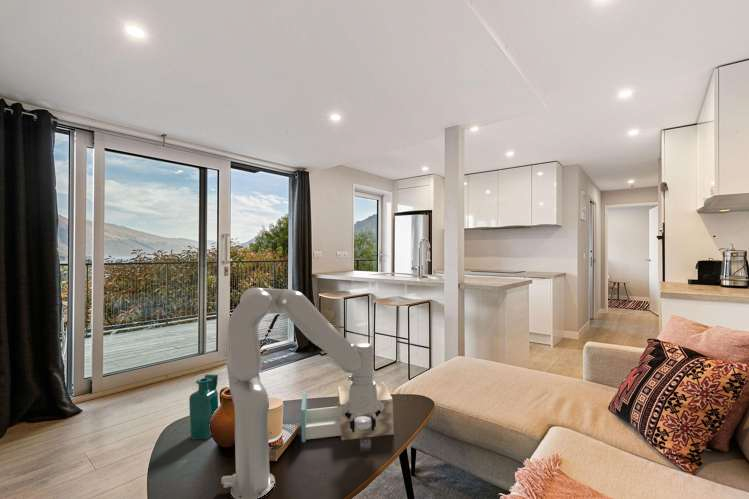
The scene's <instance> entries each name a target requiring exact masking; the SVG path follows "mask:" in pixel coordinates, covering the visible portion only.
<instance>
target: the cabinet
mask: <svg viewBox="0 0 749 499" xmlns="http://www.w3.org/2000/svg"><path fill="white" fill-rule="evenodd" d="M375 383H376V388H377V399H378V400H379V401H380V402H381V403H382V404H383V405H384V406H385V408H384V409H383V410H382V411H381V413H380V414H379V415H378V416H377V418H376V427H374V431H373V430H372V429H371V427H370V428H368V429H363V430H361V429H357V428H355V432H352V429H350V419H348V418H347V417H346V416H345V414H343V413H342V412H341V435H340V439H341V441H347V440H356V439H361V438H362V437H369V438H372V437H382V436H390V435H391V436H392V435H394V434H395V432H394V431H395V430H394V406H393V405H394V404H393V403H394V402H393V397H392V395H391V393H390V392H389V390H388V387H387V385H386V383H385V382H383V381H382V382H375ZM349 389H350V384H349V385H341V386H339V385H338V386H337V399H338V406H340V410H341V408H342V407H343V406H344V404H345V403H346V402H347V401H348V400H349ZM378 408H379V406H378ZM346 410H347V411H348V412H349V407H348V408H347V409H346ZM349 413H350V412H349ZM361 416H365V417H369V418H371V416H372V414H371V413H366V414H355V416H354V419H355V418H357V417H361Z"/></svg>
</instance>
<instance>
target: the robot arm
mask: <svg viewBox="0 0 749 499" xmlns="http://www.w3.org/2000/svg"><path fill="white" fill-rule="evenodd" d="M268 314H284V315H285V316H286V318H288V319H289V320H290V321H291V322H292V323H293V324H294V325H295V327H296V328H298V330H300V332H301V333H302V334H303V335H304V336H305V337H306V338H307V340H308V341H310V342H311V343H312V344H314V345H315V346H317V347H318V348H319V349H321V350H322V351H323V352H325V353H326V354H327V356H328V359H329V361H330V362H331V363H332V365H334V366H336V367H337V368H339V369H340V370H341V371H343V372H344V373H346V374H351V375H350V376H348V377H347V381H350V384H349V385H350V389H349V400H348V401H347V402H346V403H345V404H344V406H343V407H342V408H341V412H342V413H343V414H345V416H346V417H347V418H348V419H350V429H352V432H355V421H354V416H355V414H366V413H371V414H372V416H371V420H372V426H371V429H372V430H373V431H374V427H376V418H377V416H378V415H379V414H380V413H381V411H382V410H383V409H384V408H385V406H384V405H383V404H382V403H381V402H380V401H379V400H378V399H377V388H376V383H377V382H376V381H374V346H373V345H372V343H369V342H357V343H351V342H349V341H348V340H347V338H346V337H344V336H343V334H342V333H341V332H340V331H339V330H337V329H336V327H335V326H334V325H333V324H332V323H330V321H328V320H327V319H326V317H325V316H324V315H323V314H322V313H321V312H320V311H319V310H318V309H317V307H315V305H313V303H312V302H311V300H310V299H308V298H307V296H305V294H303V293H302V292H300V291H298V290H294V289H290V288H284V289H283V288H282V289H281V288H269V287H267V288H266V287H265V288H264V287H250V288H248V289H246V290H245V291H243V292H242V293H241V296H240V298H239V303H238V304H237V306H236V307H235V308H234V309H233V311H232V313H231V314H230V317H229V320H228V325H227V335H228V349H229V350H228V352H227V354H226V370H227V378H228V385H229V386H228V387H229V393H230V397H231V400H232V404H233V408H234V444H235V445H234V446H235V447H234V450H235V451H234V452H235V454H234V455H235V473H233V474H232V475H223V476H222V477H221V480H220V481H221V482H220V483H221V485H223V488H225V489H226V488H230V496H231V495H232V496H233V498H235V499H257V498H260V497H262V496H264V495H266V494H267V493H268V492H269V491H270V490H271V489H272V488H273V487H274V488H275V486H274V484H275V485H276V479H275V476H274V475H273V474H272V473H270V450H269V448H270V447H269V446H270V445H269V444H270V443H269V410H270V409H269V408H270V407H269V403H270V400H269V395H268V392H267V390H266V388H265V387H264V385H263V383H262V382H261V377H260V373H261V370H262V368H263V367H262V366H263V359H262V354H261V347H260V340H259V327H260V326H259V325H260V323H261V321H262V320H263V319H264V318H265V317H266V316H267V315H268ZM378 406H379V408H378ZM348 407H349V412H350V413H349V412H348V411H347V410H346V409H347V408H348ZM274 488H273V489H274ZM232 496H231V497H232ZM266 496H267V495H266ZM240 497H241V498H240ZM233 498H232V499H233Z"/></svg>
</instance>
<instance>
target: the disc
mask: <svg viewBox="0 0 749 499" xmlns="http://www.w3.org/2000/svg"><path fill="white" fill-rule="evenodd" d="M354 421H355V428H357V429H361V430H363V429H368V428H370V427H371V426H372V420H371V418H369V417H365V416H361V417H357V418H355V419H354Z"/></svg>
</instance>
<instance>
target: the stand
mask: <svg viewBox="0 0 749 499" xmlns="http://www.w3.org/2000/svg"><path fill="white" fill-rule="evenodd" d="M371 451H372V439H371V437H362V438H359V452H360V453H363V454H367V453H370V452H371Z"/></svg>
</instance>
